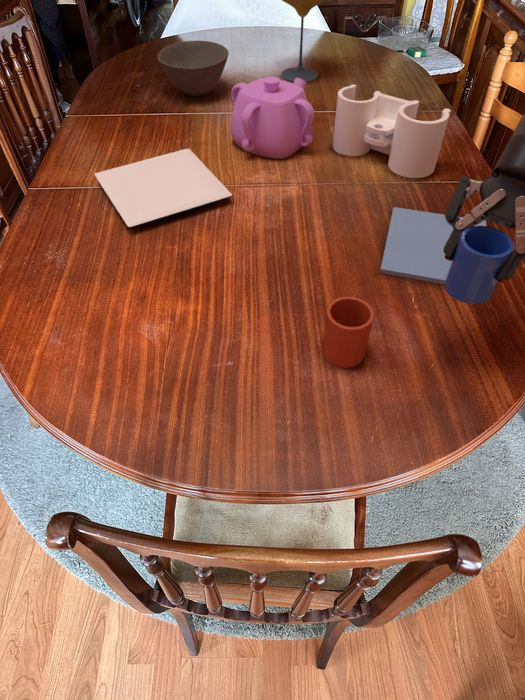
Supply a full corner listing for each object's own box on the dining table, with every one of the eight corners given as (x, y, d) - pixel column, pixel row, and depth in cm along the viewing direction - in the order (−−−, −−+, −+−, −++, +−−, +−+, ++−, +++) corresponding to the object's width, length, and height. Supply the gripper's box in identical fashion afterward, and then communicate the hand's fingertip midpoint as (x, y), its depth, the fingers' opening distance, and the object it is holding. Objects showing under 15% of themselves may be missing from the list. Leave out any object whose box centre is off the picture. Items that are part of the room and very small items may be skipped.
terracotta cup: (367, 340, 80) (376, 301, 74) (361, 372, 76) (370, 333, 69) (326, 332, 81) (331, 293, 75) (318, 362, 77) (322, 324, 71)
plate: (233, 203, 105) (232, 194, 104) (130, 235, 98) (128, 226, 97) (189, 155, 118) (188, 147, 117) (96, 181, 111) (93, 172, 110)
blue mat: (484, 225, 100) (486, 220, 99) (484, 291, 87) (486, 287, 86) (392, 211, 103) (393, 206, 102) (379, 273, 91) (380, 268, 90)
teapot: (233, 163, 116) (230, 99, 105) (229, 121, 129) (225, 60, 118) (316, 159, 117) (321, 95, 106) (303, 118, 130) (306, 57, 119)
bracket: (324, 150, 119) (328, 97, 110) (344, 134, 125) (350, 82, 115) (422, 183, 110) (436, 128, 101) (440, 164, 115) (455, 110, 106)
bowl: (174, 76, 148) (169, 38, 141) (237, 81, 146) (235, 42, 138) (153, 104, 136) (146, 64, 129) (220, 109, 134) (218, 69, 126)
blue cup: (491, 277, 71) (512, 230, 65) (492, 308, 67) (514, 261, 61) (445, 269, 73) (461, 222, 67) (442, 299, 69) (460, 252, 63)
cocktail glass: (282, 59, 156) (284, -41, 137) (338, 68, 151) (349, -35, 132) (259, 82, 145) (258, -24, 126) (318, 92, 140) (327, -16, 122)
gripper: (483, 117, 62) (417, 242, 65) (607, 153, 57) (529, 289, 60) (485, 142, 69) (426, 254, 72) (596, 176, 63) (527, 297, 66)
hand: (473, 269), depth 66 cm, fingers closed on blue cup, 6 cm apart
